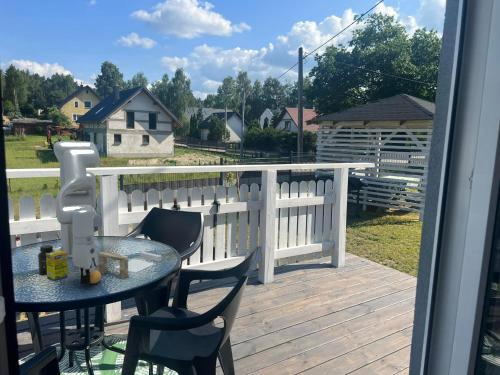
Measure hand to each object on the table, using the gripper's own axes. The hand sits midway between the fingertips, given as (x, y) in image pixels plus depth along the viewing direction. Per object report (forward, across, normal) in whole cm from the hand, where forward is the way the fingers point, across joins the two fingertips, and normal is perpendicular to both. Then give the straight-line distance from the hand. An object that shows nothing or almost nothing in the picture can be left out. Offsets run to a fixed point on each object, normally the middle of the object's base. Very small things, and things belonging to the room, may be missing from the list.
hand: (85, 283), depth 151 cm
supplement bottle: (+2, +26, -1) cm, 26 cm away
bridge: (+1, 0, -15) cm, 15 cm away
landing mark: (+1, +1, -28) cm, 28 cm away
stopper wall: (+1, +1, -39) cm, 39 cm away
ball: (-1, 0, -4) cm, 5 cm away
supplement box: (+2, +18, 0) cm, 18 cm away
